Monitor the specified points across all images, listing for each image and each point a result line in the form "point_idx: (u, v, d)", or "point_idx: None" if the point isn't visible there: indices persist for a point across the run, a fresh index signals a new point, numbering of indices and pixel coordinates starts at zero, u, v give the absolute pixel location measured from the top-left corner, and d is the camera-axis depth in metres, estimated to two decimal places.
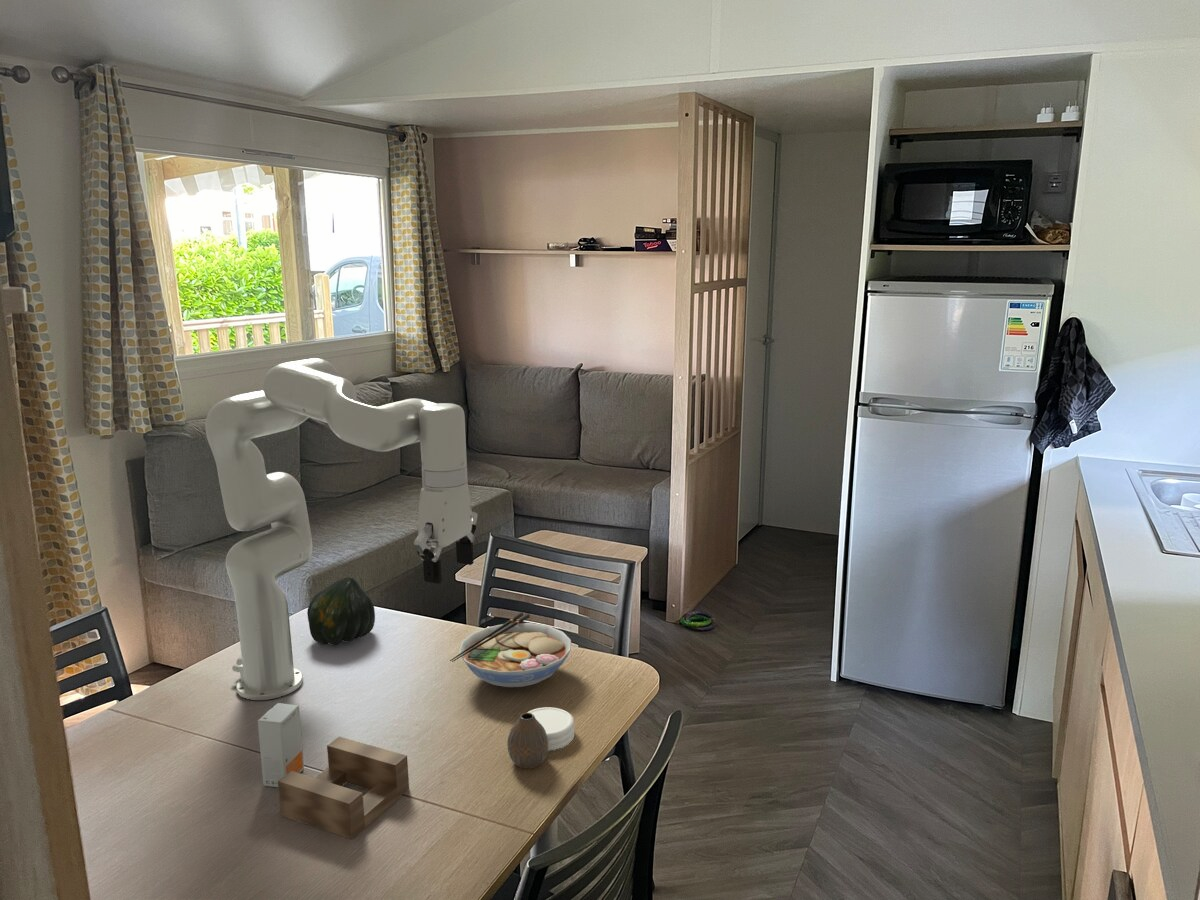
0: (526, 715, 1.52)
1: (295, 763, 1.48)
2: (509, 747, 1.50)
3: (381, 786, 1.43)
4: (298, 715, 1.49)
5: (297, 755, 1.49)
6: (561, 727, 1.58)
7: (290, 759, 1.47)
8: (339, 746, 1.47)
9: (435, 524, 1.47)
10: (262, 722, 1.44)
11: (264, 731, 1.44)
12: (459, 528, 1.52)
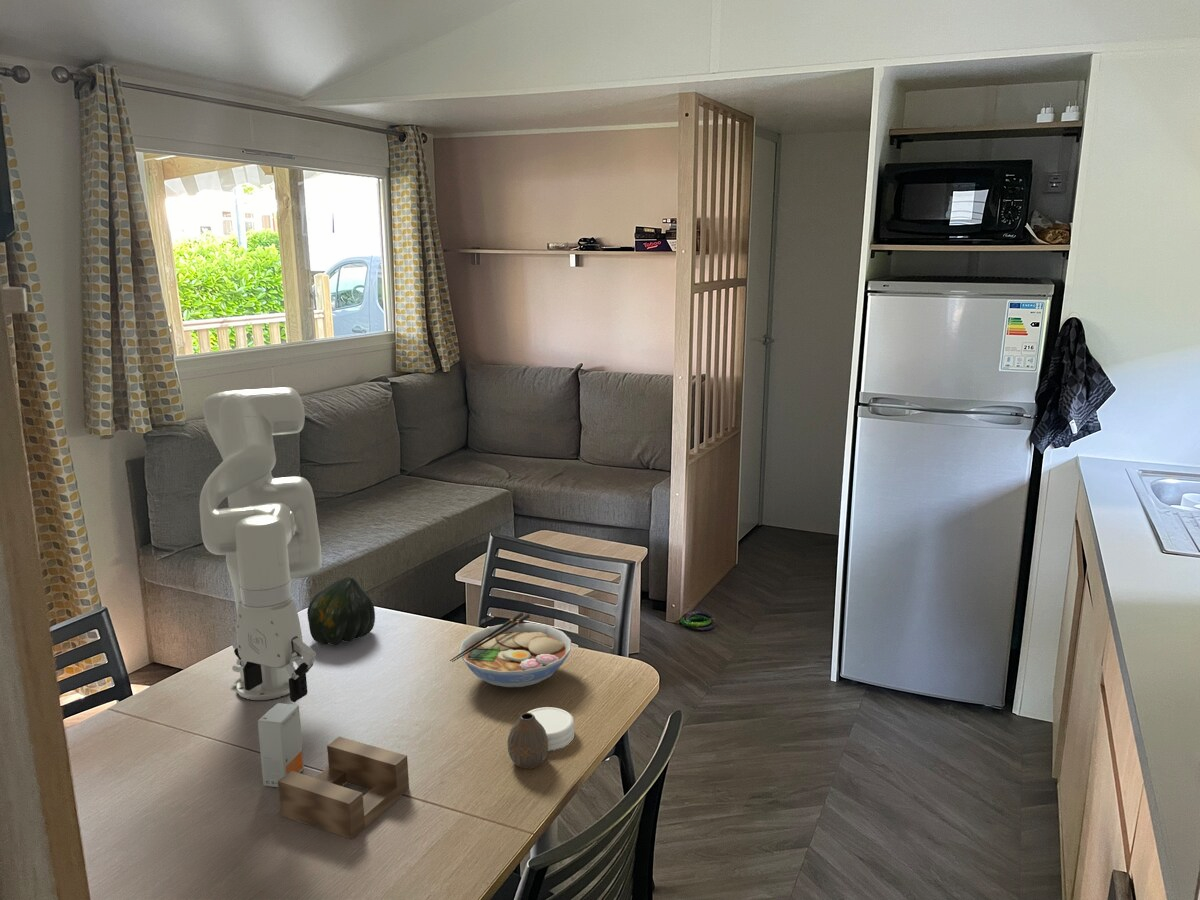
0: (526, 715, 1.52)
1: (295, 763, 1.48)
2: (509, 747, 1.50)
3: (381, 786, 1.43)
4: (298, 715, 1.49)
5: (297, 755, 1.49)
6: (561, 727, 1.58)
7: (290, 759, 1.47)
8: (339, 746, 1.47)
9: (299, 635, 1.42)
10: (262, 722, 1.44)
11: (264, 731, 1.44)
12: None
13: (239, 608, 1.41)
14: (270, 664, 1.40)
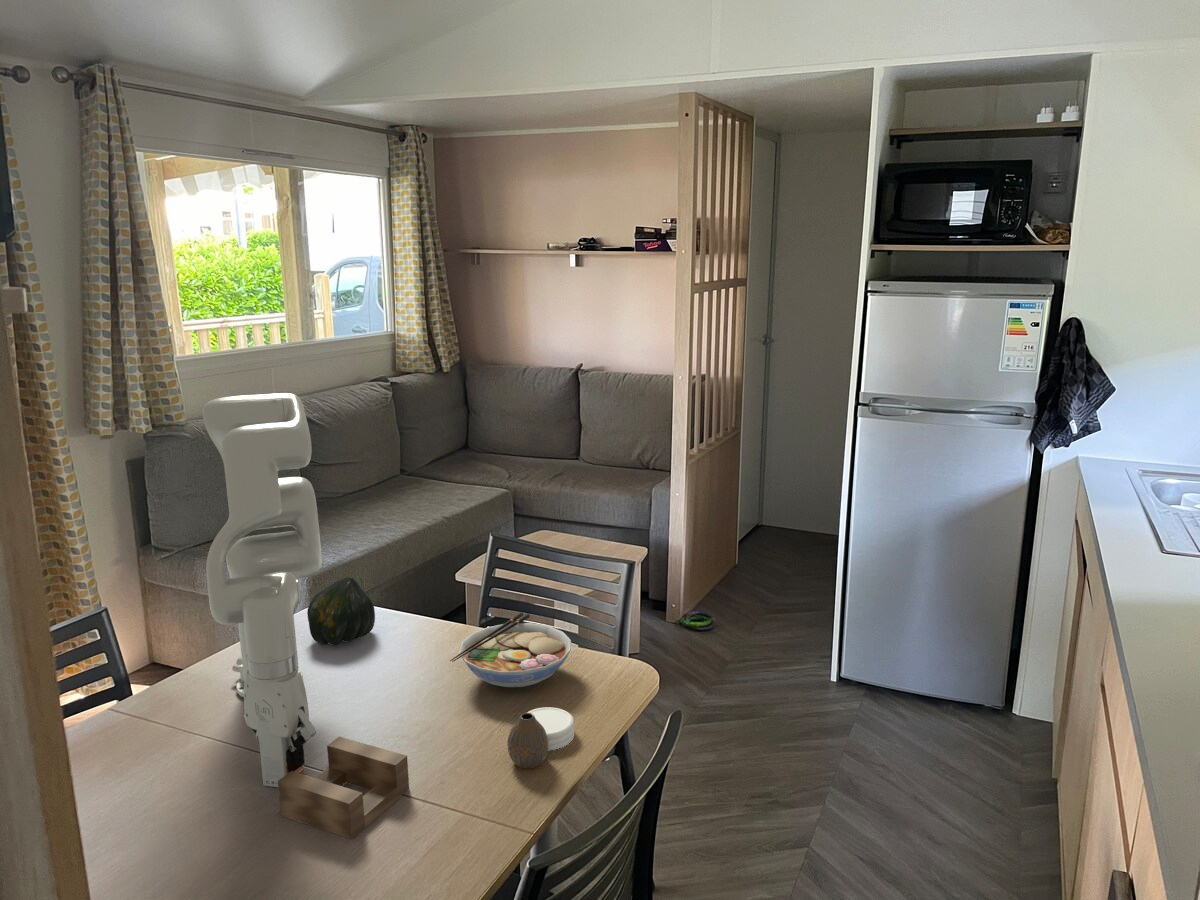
0: (526, 715, 1.52)
1: None
2: (509, 747, 1.50)
3: (381, 786, 1.43)
4: None
5: None
6: (561, 727, 1.58)
7: None
8: (339, 746, 1.47)
9: (305, 704, 1.45)
10: (262, 721, 1.44)
11: (264, 731, 1.44)
12: None
13: (246, 678, 1.44)
14: (277, 734, 1.43)
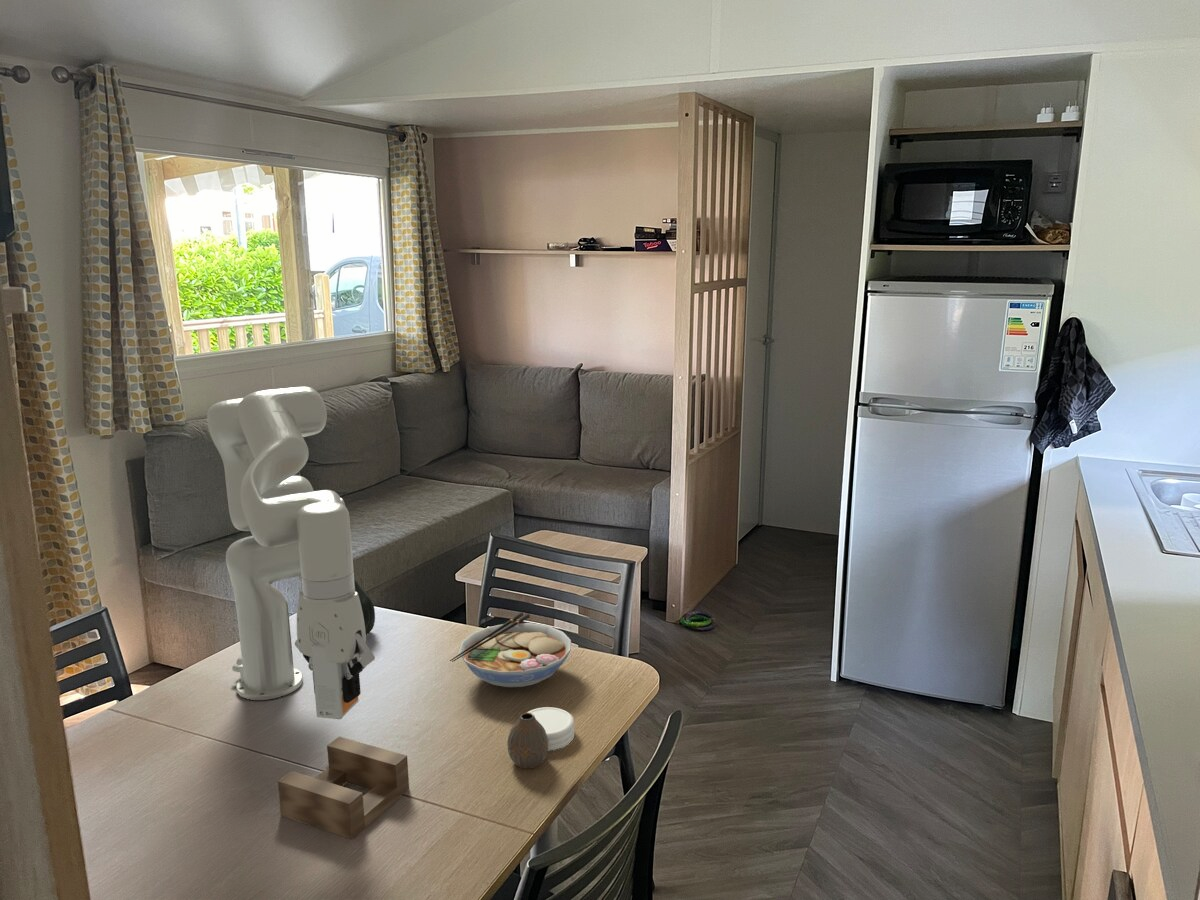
0: (526, 715, 1.52)
1: None
2: (509, 747, 1.50)
3: (381, 786, 1.43)
4: None
5: None
6: (561, 727, 1.58)
7: None
8: (339, 746, 1.47)
9: (362, 629, 1.35)
10: (316, 646, 1.34)
11: (318, 657, 1.34)
12: None
13: (300, 600, 1.34)
14: (333, 659, 1.33)
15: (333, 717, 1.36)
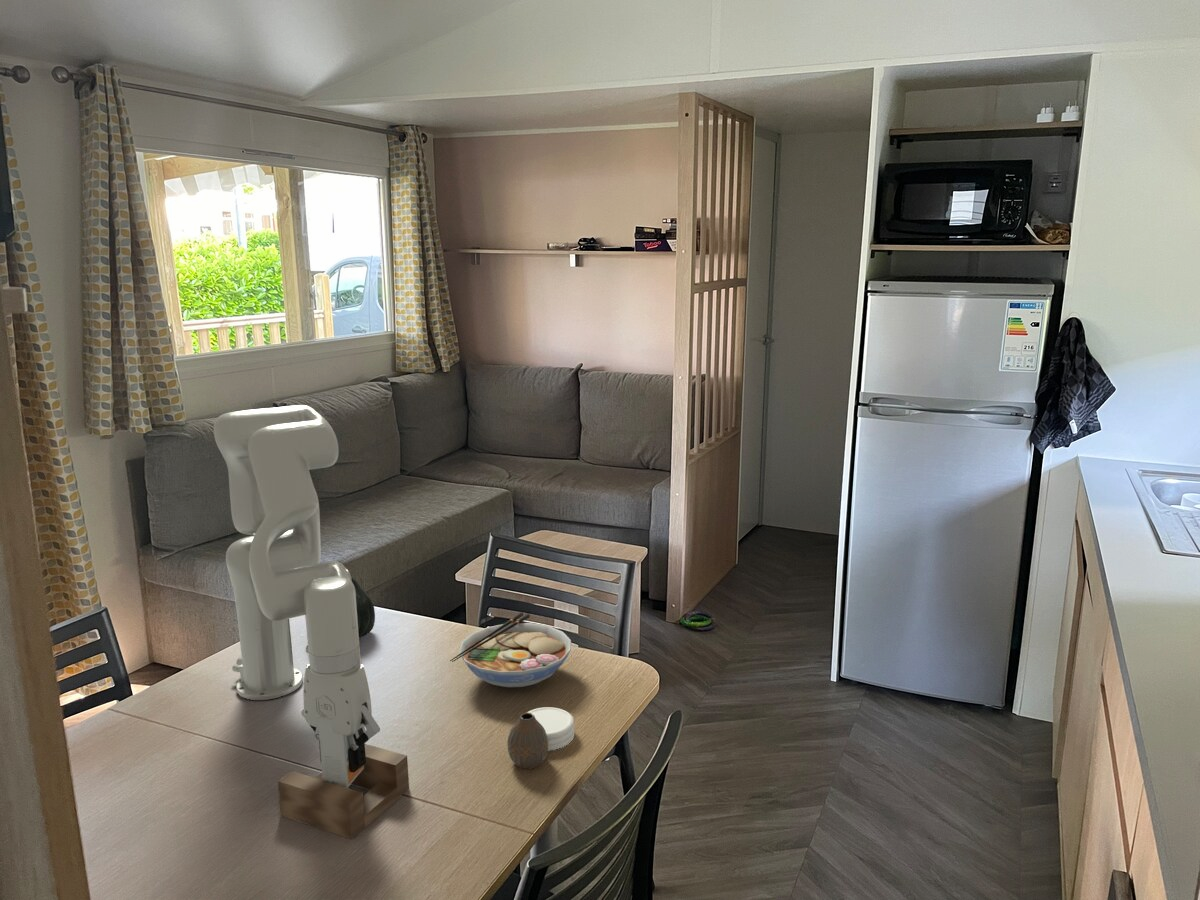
0: (526, 715, 1.52)
1: None
2: (509, 747, 1.50)
3: (381, 786, 1.43)
4: None
5: None
6: (561, 727, 1.58)
7: None
8: None
9: (368, 700, 1.37)
10: (322, 718, 1.36)
11: (325, 728, 1.37)
12: None
13: (306, 673, 1.37)
14: (339, 731, 1.36)
15: None
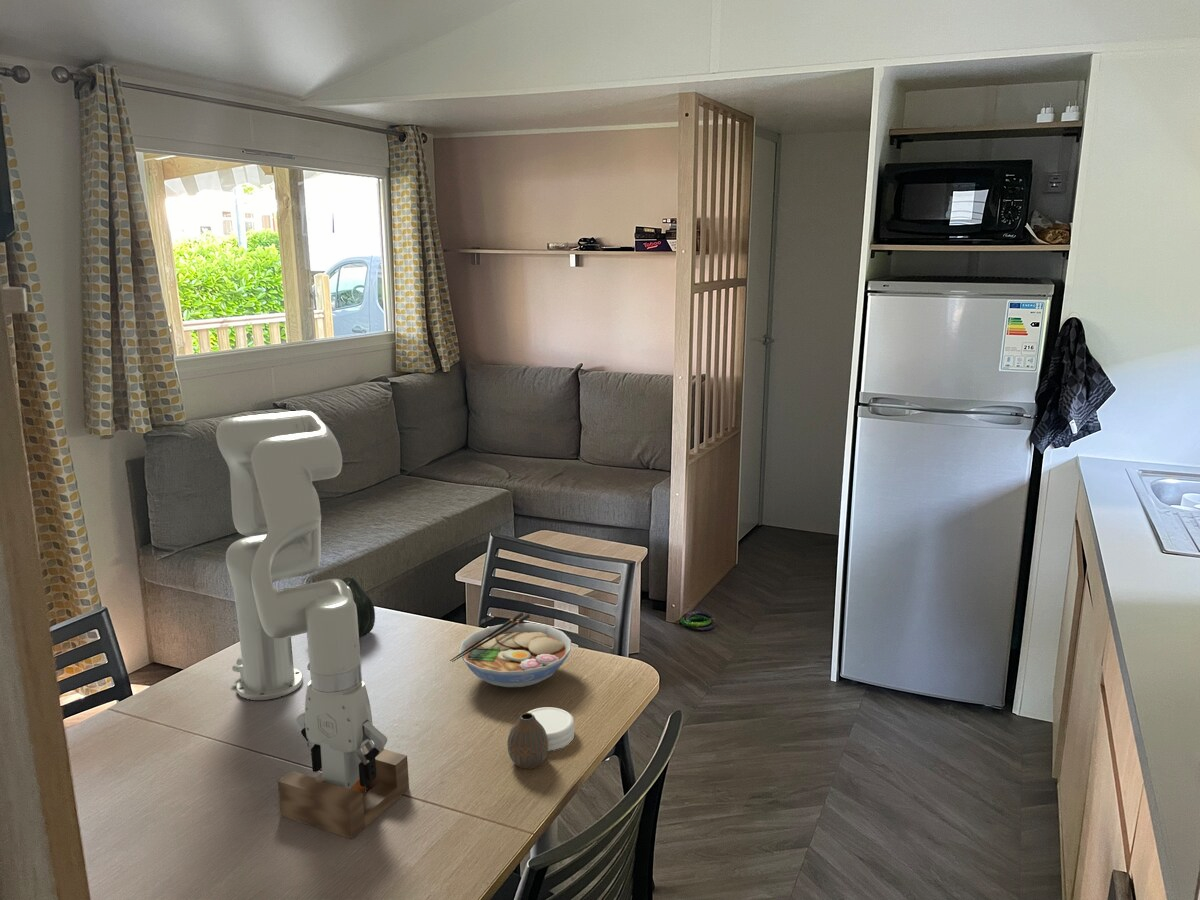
0: (526, 715, 1.52)
1: (357, 787, 1.42)
2: (509, 747, 1.50)
3: (381, 786, 1.43)
4: None
5: None
6: (561, 727, 1.58)
7: (352, 782, 1.40)
8: None
9: (369, 718, 1.38)
10: (325, 743, 1.37)
11: (327, 753, 1.38)
12: None
13: (308, 690, 1.37)
14: (340, 749, 1.36)
15: None
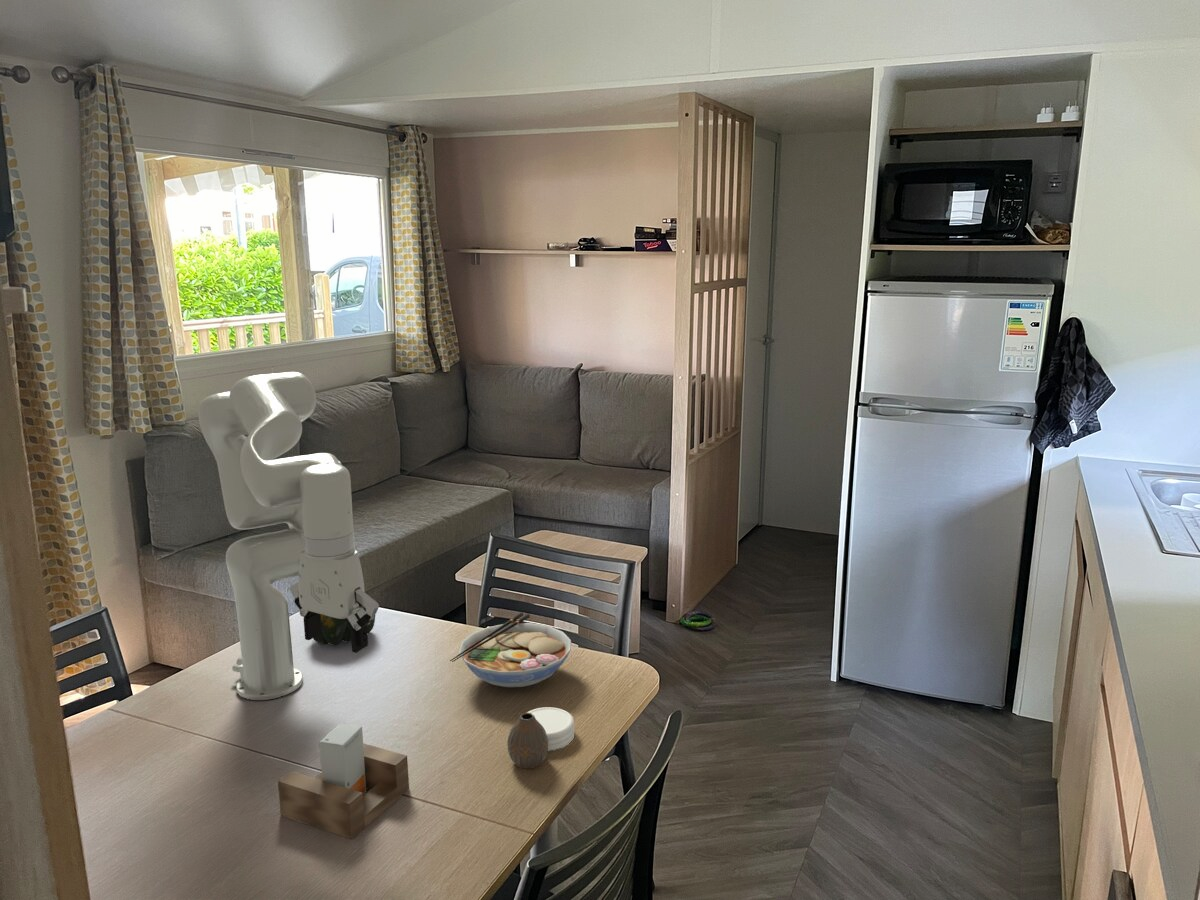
0: (526, 715, 1.52)
1: (357, 787, 1.42)
2: (509, 747, 1.50)
3: (381, 786, 1.43)
4: (361, 737, 1.42)
5: (359, 778, 1.42)
6: (561, 727, 1.58)
7: (352, 782, 1.40)
8: None
9: (361, 586, 1.40)
10: (324, 743, 1.38)
11: (326, 753, 1.38)
12: None
13: (302, 557, 1.40)
14: (333, 614, 1.39)
15: None
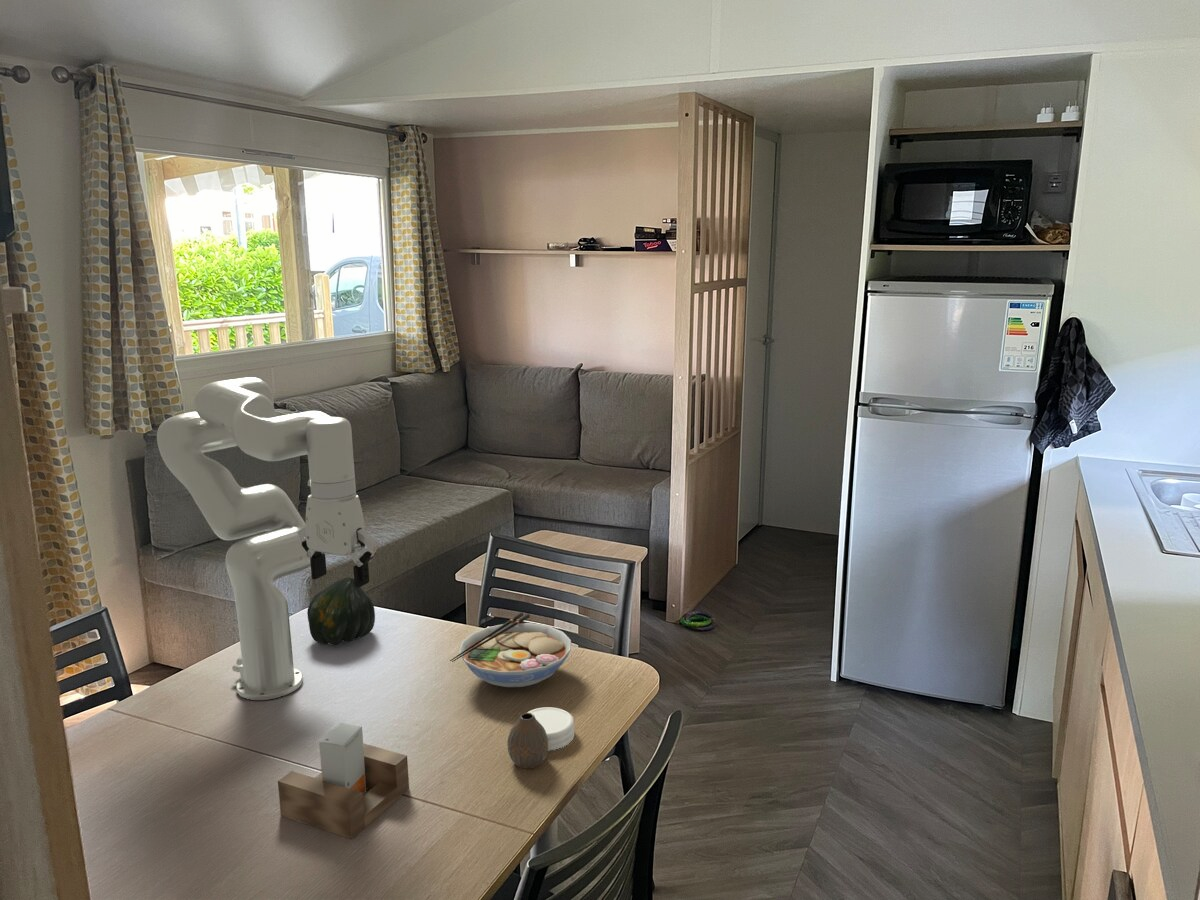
0: (526, 715, 1.52)
1: (357, 787, 1.42)
2: (509, 747, 1.50)
3: (381, 786, 1.43)
4: (361, 737, 1.42)
5: (359, 778, 1.42)
6: (561, 727, 1.58)
7: (352, 782, 1.40)
8: None
9: (362, 527, 1.56)
10: (324, 743, 1.38)
11: (326, 753, 1.38)
12: None
13: (308, 502, 1.55)
14: (337, 552, 1.54)
15: None
